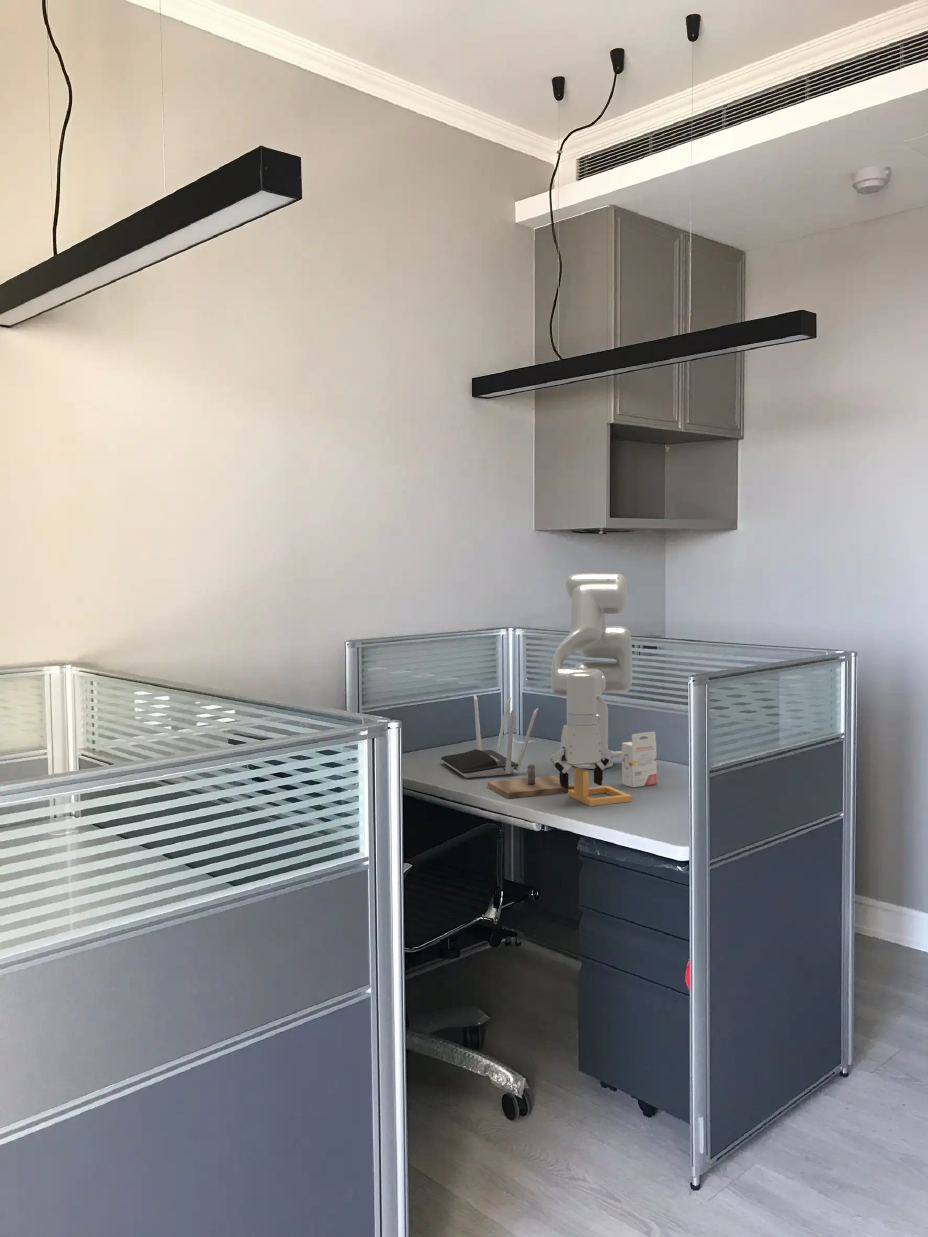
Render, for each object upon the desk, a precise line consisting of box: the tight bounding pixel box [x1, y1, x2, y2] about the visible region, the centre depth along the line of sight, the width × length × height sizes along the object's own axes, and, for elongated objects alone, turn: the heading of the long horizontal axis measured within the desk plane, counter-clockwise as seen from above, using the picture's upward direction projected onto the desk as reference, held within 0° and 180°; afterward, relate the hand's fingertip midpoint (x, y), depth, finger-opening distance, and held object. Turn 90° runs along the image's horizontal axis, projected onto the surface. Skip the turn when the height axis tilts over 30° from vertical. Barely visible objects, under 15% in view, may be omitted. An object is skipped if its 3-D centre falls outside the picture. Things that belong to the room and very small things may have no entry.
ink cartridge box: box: [621, 731, 658, 788], centre depth 272 cm, size 9×5×15 cm, turn 117°
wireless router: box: [440, 694, 539, 779], centre depth 293 cm, size 34×23×20 cm
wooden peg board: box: [487, 763, 574, 799], centre depth 267 cm, size 20×14×7 cm
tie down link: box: [567, 767, 632, 807], centre depth 256 cm, size 12×12×8 cm
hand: (581, 785), depth 254 cm, fingers open, 9 cm apart
